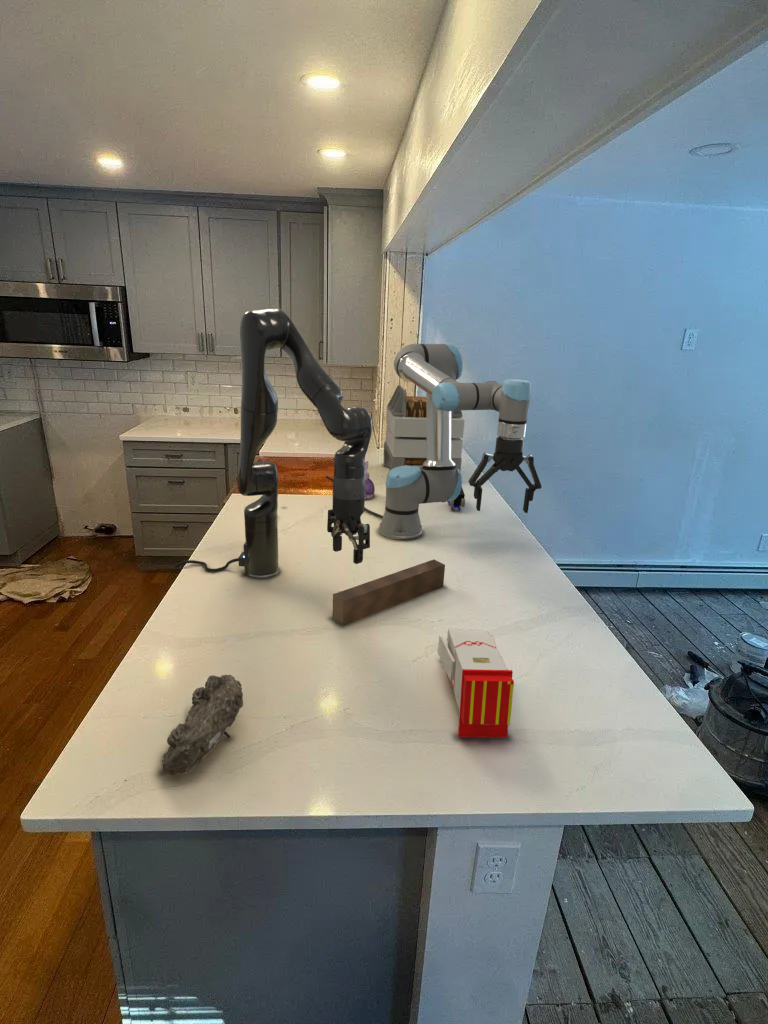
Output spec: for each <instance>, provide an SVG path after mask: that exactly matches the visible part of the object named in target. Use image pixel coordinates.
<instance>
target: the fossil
mask: <svg viewBox="0 0 768 1024" xmlns="http://www.w3.org/2000/svg"><path fill="white" fill-rule="evenodd" d="M243 696H244V694H243V687H242V684H241V682H240V680H237V679H236V678H235V677H234V676H233V675H232V674H222V675H221V676H217V675H209V676H208V677H207V678H206V681H205V684H204V686H201V687H197V688H195V690H193V693H192V697H191V704H192V705H191V707H190V709H189V710H188V713H187V715H186V716H185V719H184V723H178V724H177V726H176V727H175V728H173V729H172V730H171V731H170V734H169V735H168V737H167V738H166V743H167V745H168V748H167V750H166V752H165V753H163V755H162V757H163V759H161V766H162V771H163V773H168V774H169V775H170V776H174V775H178V774H183V773H185V774H189V773H190V772H191V771H192V770H193V769H194V767H196V766H197V765H198V764H199V763H200V762H202V760H203V759H204V758H205V757H206V756H207V755H208V754H209V753H210V752H211V751H213V750H214V749H215V747H216V746H217V743H218V741H220V740H221V739H222V737H223V736H225V737H226V738H228V739H230V738H231V735H230V734H229V733H228V732H227V729H228V728H231V727H232V725H233V724H234V723H235V722H236V719H237V717H238V714H239V713H240V710H241V709H242V708H243V707H244V699H243V698H244V697H243Z"/></svg>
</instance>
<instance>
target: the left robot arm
mask: <svg viewBox="0 0 768 1024" xmlns="http://www.w3.org/2000/svg"><path fill="white" fill-rule="evenodd" d="M239 337H240V338H239V339H240V340H239V341H240V355H241V372H242V373H241V401H240V439H239V440H240V441H239V443H240V444H239V453H238V460H237V461H238V462H237V469H236V487H237V491H238V492H239V494H240V495H242V496H243V497H254V496H260V498H258V499H257V500H255V501H253V502H251V503H249V504H248V505H246V506H245V507H244V510H243V516H244V518H243V519H244V520H243V521H244V540H245V542H244V543H243V551H241V553H240V555H239V556H238V557H236V558H233V559H230V560H227V562H226V564H225V565H224V566H221V567H218V568H210V567H208V564H207V562H205V561H200V560H196V559H195V560H194V559H189V560H188V559H187V560H182V561H180V562H179V563H176V564H175V566H174V568H176V569H177V568H179V567H180V566H183V565H185V564H196V565H202V566H204V570H205V571H207V572H213V573H214V572H215V573H216V572H221V571H225V570H226V569H227V568H228V567H229V566H230V565H231V564H233V563H236V562H238V567H244V568H243V569H244V576H249V577H251V578H255V579H266V578H272V577H274V576H276V575H277V574H279V572H280V565H279V564H280V563H279V532H278V531H279V528H278V509H279V508H278V507H279V504H278V503H279V500H278V499H279V471H278V467H277V465H276V464H275V463H274V461H270V460H267V461H266V460H265V461H255V459H256V456H257V455H258V454H257V453H258V452H259V450H260V448H261V447H262V446H263V445H264V444H265V442H266V441H267V440H268V439H269V437H270V436H271V435H272V433H273V432H274V430H275V429H276V426H277V423H278V413H279V412H278V411H279V399H278V395H277V392H276V390H275V389H274V387H273V385H272V383H271V382H270V380H269V378H268V376H267V374H266V367H265V366H266V365H265V364H266V362H265V361H266V352H267V351H270V350H275V349H278V348H279V349H281V350H283V351H284V352H285V353H286V354H287V355H288V356H289V357H290V359H291V361H292V363H293V366H294V373H295V378H296V383H297V384H298V387H299V388H300V390H301V392H302V393H303V394H304V396H305V397H306V398H307V399H308V400H309V401H310V403H311V404H312V405H313V406H314V407H315V408H316V410H317V412H318V414H319V416H320V418H321V421H322V422H323V424H324V427H325V429H326V431H327V432H328V434H329V435H331V437H332V438H334V439H336V440H337V441H339V442H344V443H343V445H342V446H341V447H340V448H339V449H338V450H336V451H335V453H334V458H333V459H334V461H333V481H332V509H328V510H327V522H326V523H327V526H326V529H327V530H326V531H327V533H330V535H331V537H332V551H333V552H335V553H337V552H341V551H342V549H343V534H344V535H345V536H347V538H348V540H349V542H351V543H352V546H353V552H352V553H353V555H352V556H353V557H352V563H353V564H355V565H358V564H361V563H363V561H364V550H366V549H370V547H371V525H370V524H369V523H365V524H364V523H362V519H361V517H362V515H363V514H364V513H365V510H364V507H365V500H366V499H365V479H364V472H365V462H366V461H365V460H366V456H367V452H368V449H369V446H370V443H371V437H372V433H373V420H372V416H371V414H370V412H369V410H367V408H365V407H364V406H359V405H358V406H356V405H355V406H351V407H344V406H343V405H342V404H341V403H342V402H343V400H344V393H343V391H342V388H341V387H340V386H339V385H338V384H337V383H336V382H335V381H334V379H333V378H332V377H331V376H330V375H329V374H328V372H326V370H325V369H324V368H323V367H322V366H321V365H320V363H319V361H318V360H317V359H316V357H315V356H314V354H313V353H312V351H311V350H310V347H309V346H308V344H307V343H306V341H305V340H304V338H303V337H302V334H301V333H300V332H299V330H298V329H297V327H296V326H295V323H294V322H293V321H292V319H291V317H290V316H289V315H288V314H287V313H286V312H285V311H284V310H283V309H281V308H279V307H266V308H259V309H251V310H247V311H246V312H245V313H244V314H243V315H242V317H241V320H240V327H239Z"/></svg>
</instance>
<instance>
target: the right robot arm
mask: <svg viewBox="0 0 768 1024" xmlns="http://www.w3.org/2000/svg"><path fill="white" fill-rule="evenodd" d="M393 369H394V371H395V373H396V375H397V376H398V377H399V378H400V379H401V380H403V381H404V382H407V383H412V384H414V385H415V386H417V388H420V390H422V391H423V392H425V394H426V396H425V397H426V414H427V460H426V461H425V462H424V463H423V465H422V466H421V467H420V466H407V465H404V466H400V467H396V468H393V469H391V470H390V469H389V470H388V472H387V475H386V480H385V481H386V482H385V504H384V505H385V507H384V508H385V509H384V513H383V515H382V514H379V513H377V512H375V511H372V510H370V509H368V508H366V507H365V506H364V512H366V513H368V514H371V515H373V516H375V517H378V518H381V522H379V527H378V533H379V534H380V535H381V536H382V537H385V538H387V539H389V540H395V541H410V540H415V539H418V538H420V537H421V536H422V535H423V525H422V524H421V518H420V515H419V507H420V506H419V505H420V504H421V505H422V504H433V503H447V501H452V500H455V499H456V498H457V497H458V495H459V494H460V491H461V488H462V489H463V476H462V473H461V472H462V471H461V472H460V471H459V470H458V469H457V468H455V463H454V462H453V461H452V460H451V411H460V410H461V411H496V412H498V423H497V432H496V435H497V437H496V438H495V439H496V440H495V448H494V453H493V454H490V453H487V452H484V453H483V454H482V456H481V457H482V458H481V460H480V462H479V464H478V465H477V467H476V469H475V470H474V472H473V474H471V476H470V478H469V479H468V484H469V486H470V487H473V488H474V489H473V497H474V499H475V500H476V503H475V509H476V511H477V512H480V511H481V507H482V506H481V505H482V499H483V498H482V496H483V487H482V486H483V485H484V484H485V483H487V481H489V479H490V478H492V477H493V476H494V475H495V474H496V473H497V472H499V471H501V472H514V471H517V473H518V474H519V476H520V477H521V478H522V479H523V481H524V483H525V485H526V486H527V487H528V488H527V487H526V488H525V492H524V498H523V504H522V505H523V506H522V510H523V512H524V513H525V514H528V513H529V507H530V502H533V500H534V495H535V492H536V490H541V489H542V486H543V485H542V484H541V481H540V478H539V475H538V473H537V470H536V467H535V464H534V463H535V461H534V460H535V458H534V456H532V454H528V455H523V453H524V446H525V440H524V439H525V437H526V429H527V423H528V422H527V421H528V416H529V408H530V401H531V397H532V395H531V389H532V388H531V387H532V383H531V381H528V380H525V379H518V378H505V379H504V380H503V382H502V383H500V382H497V381H495V380H484V381H483V382H461V381H460V382H459V381H457V380H458V379H460V378H461V376H462V373H463V370H464V363H463V357H462V354H461V351H460V350H459V348H458V347H457V346H455V345H453V344H447V343H410V344H408V345H405V346H403V347H401V349H400V350H398V352H397V353H396V355H395V356H394V360H393ZM491 460H492V461H493V463H492V465H491V466H490V467H489V468H488V470H486V471H485V472H484V474H482V473H483V471H484V469H485V468H486V466H487V465H488V463H490V462H491ZM523 462H525V464H527V467H528V469H529V472H530V475H531V477H532V480H533V483H532V482H531V481H530V479H529V478H528V476H527V475H526V474H525V472H524V470H523V469H522V468H521V466H520V465H521V464H522V463H523ZM421 468H422V469H421ZM481 474H482V475H481ZM325 479H327V480H329V481H330V482H333V480H334V478H332V477H330V476H328V475H326V476H325Z"/></svg>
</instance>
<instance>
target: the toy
mask: <svg viewBox="0 0 768 1024" xmlns="http://www.w3.org/2000/svg"><path fill="white" fill-rule="evenodd" d="M446 640H447V643H446V641H445V639H444V636H443V635H442V634H439V637H438V646H437V656H438V657H439V659H440V661H441V663H442V666H443V668H444V670H445V672H446V674H447V677H448V679H449V681H450V684H451V687H452V690H453V693H454V697H455V701H456V705H457V708H458V711H459V714H458V715H459V716H458V730H457V731H458V732H457V737H458V738H508V731H509V726H510V725H511V717H512V707H513V697H514V696H513V695H514V684H515V680H514V679H513V673H514V671H513V670H512V669H508V667H507V665H506V662H505V661H504V659H503V658H502V655H501V653H500V651H499V649H498V647H497V643H496V639H495V637H494V635H493V634H491V632H490V631H489V629H467V628H466V629H465V628H463V629H461V628H460V629H459V628H448V630H447V639H446Z"/></svg>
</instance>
